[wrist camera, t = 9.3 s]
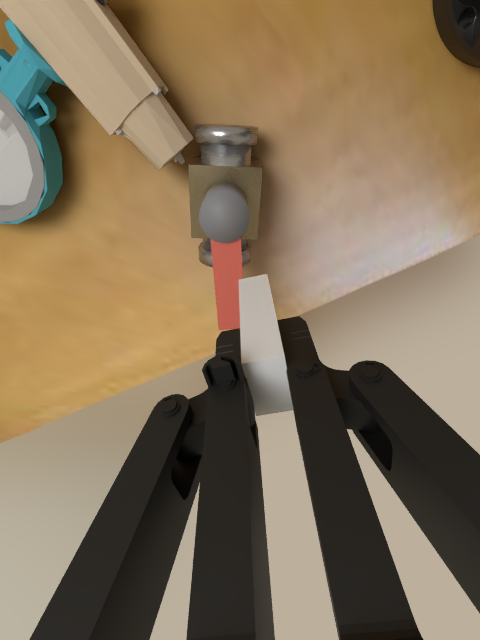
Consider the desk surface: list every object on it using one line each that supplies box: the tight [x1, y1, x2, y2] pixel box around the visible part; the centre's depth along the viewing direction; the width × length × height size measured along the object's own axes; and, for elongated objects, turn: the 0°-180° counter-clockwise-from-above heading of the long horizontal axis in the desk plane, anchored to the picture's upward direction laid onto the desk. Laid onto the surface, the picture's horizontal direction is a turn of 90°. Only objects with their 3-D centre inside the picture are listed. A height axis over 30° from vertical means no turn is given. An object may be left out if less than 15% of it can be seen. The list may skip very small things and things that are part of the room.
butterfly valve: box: [0, 0, 193, 224], centre depth 30 cm, size 27×7×30 cm
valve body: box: [188, 124, 263, 267], centre depth 34 cm, size 13×7×7 cm, turn 178°
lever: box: [199, 183, 250, 330], centre depth 32 cm, size 14×4×4 cm, turn 2°
